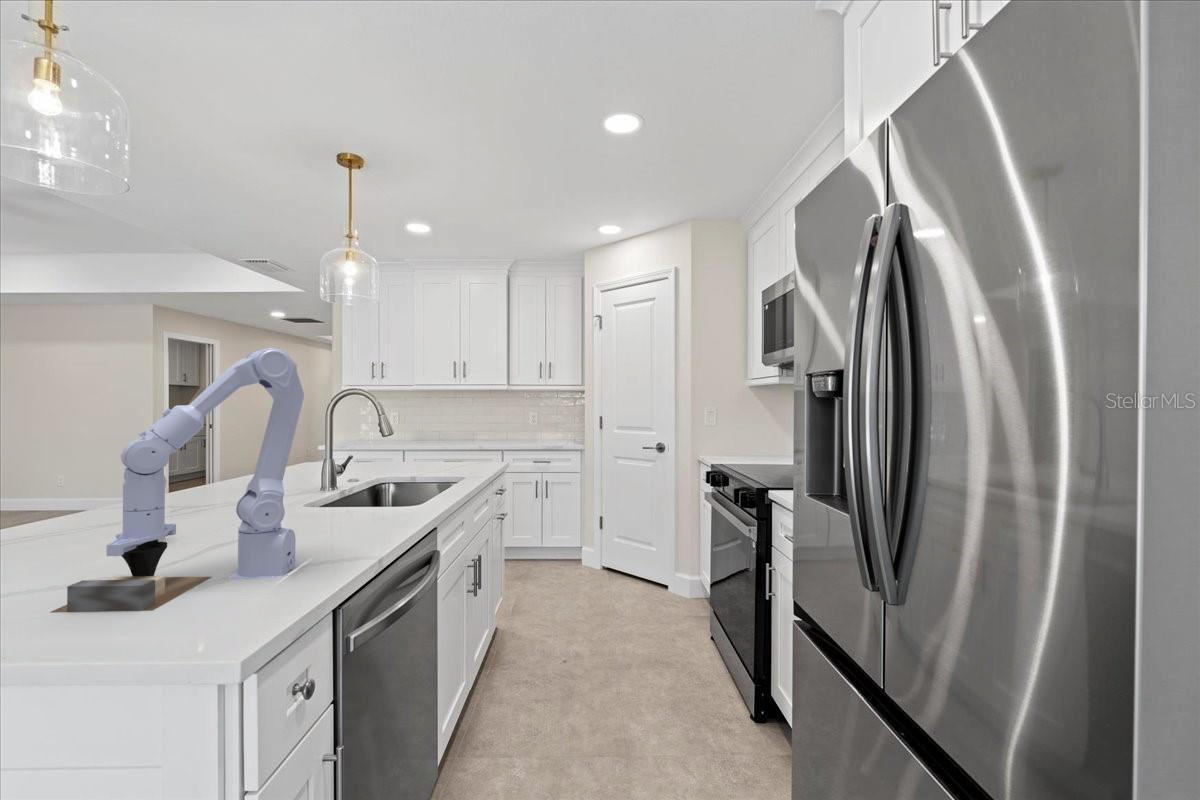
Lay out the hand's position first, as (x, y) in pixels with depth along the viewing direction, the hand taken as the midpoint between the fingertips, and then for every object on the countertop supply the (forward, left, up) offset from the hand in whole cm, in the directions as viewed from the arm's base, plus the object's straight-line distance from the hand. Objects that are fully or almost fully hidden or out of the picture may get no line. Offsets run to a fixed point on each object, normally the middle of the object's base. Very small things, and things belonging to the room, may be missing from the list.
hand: (143, 586), depth 100 cm
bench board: (+1, 0, -2) cm, 2 cm away
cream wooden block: (0, +3, -1) cm, 4 cm away
